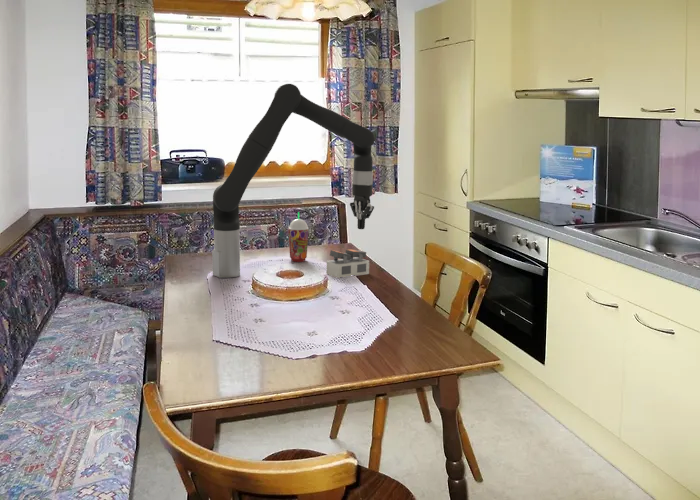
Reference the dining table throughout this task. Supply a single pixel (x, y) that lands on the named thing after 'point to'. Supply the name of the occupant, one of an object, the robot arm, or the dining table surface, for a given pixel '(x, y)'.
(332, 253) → the rocker
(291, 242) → the smoothie
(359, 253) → the rocker
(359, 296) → the dining table surface
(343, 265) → the rocker switch box
